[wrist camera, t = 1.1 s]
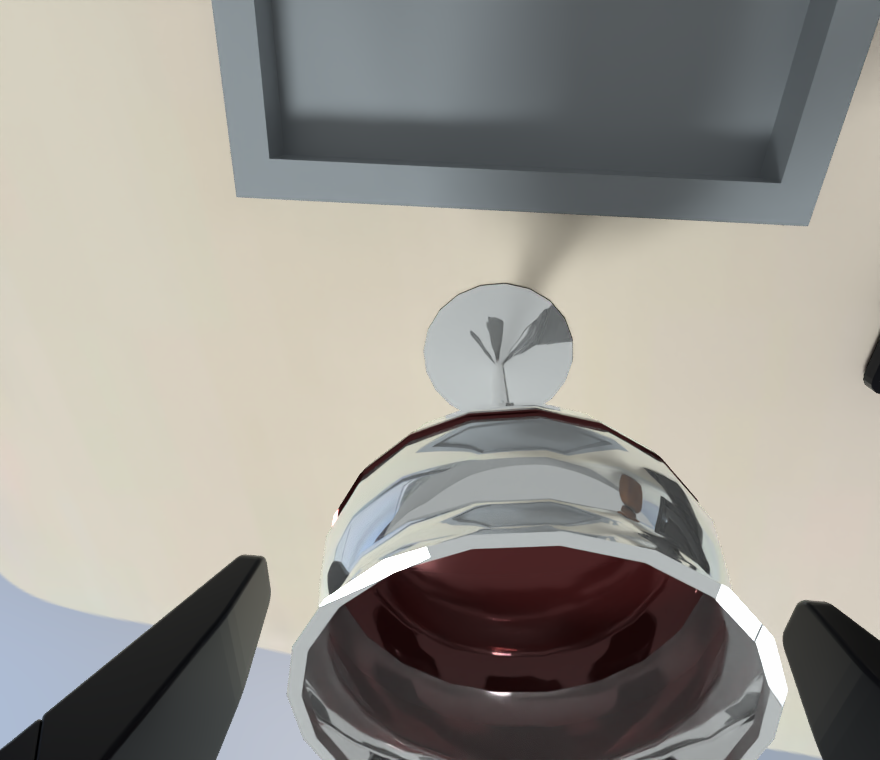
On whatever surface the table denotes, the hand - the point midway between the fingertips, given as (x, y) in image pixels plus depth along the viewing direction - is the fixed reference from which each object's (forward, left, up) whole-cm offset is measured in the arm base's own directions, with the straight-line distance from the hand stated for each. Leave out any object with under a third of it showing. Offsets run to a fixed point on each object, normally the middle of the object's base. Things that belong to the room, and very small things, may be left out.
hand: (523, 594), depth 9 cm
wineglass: (0, 0, -10) cm, 10 cm away
